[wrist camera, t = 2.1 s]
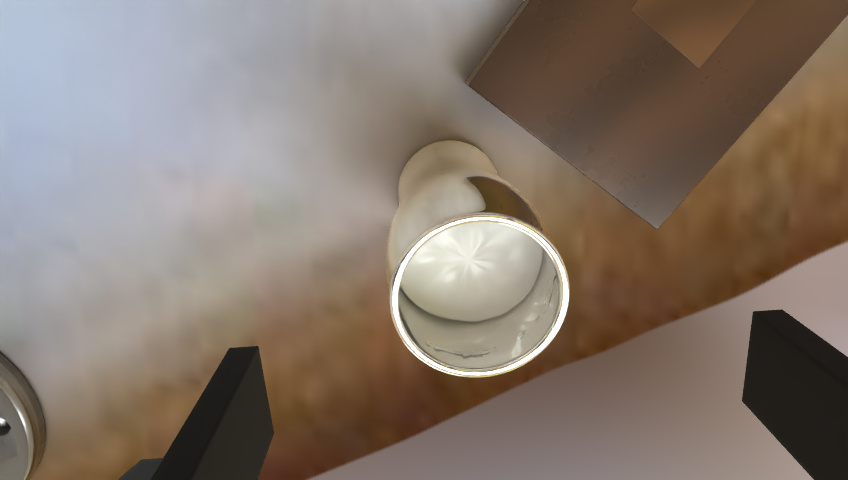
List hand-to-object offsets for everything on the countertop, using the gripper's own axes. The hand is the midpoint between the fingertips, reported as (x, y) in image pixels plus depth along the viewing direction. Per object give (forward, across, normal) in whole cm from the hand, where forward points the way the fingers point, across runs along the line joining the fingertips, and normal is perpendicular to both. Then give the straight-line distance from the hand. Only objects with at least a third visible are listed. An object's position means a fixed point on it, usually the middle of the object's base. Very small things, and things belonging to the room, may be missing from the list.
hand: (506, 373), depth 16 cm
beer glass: (+21, 0, 0) cm, 21 cm away
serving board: (+21, +13, +10) cm, 26 cm away
